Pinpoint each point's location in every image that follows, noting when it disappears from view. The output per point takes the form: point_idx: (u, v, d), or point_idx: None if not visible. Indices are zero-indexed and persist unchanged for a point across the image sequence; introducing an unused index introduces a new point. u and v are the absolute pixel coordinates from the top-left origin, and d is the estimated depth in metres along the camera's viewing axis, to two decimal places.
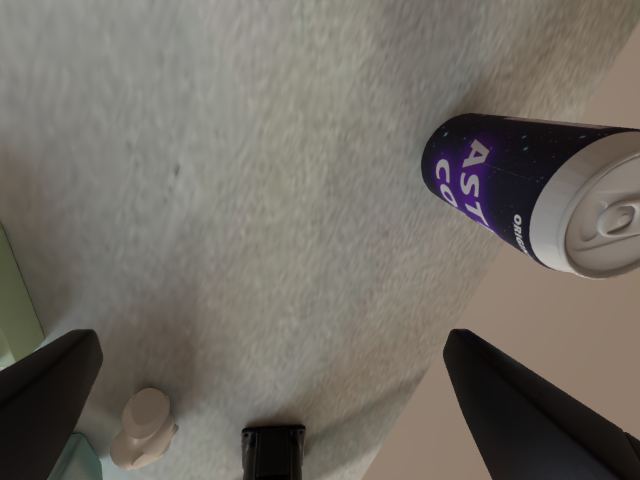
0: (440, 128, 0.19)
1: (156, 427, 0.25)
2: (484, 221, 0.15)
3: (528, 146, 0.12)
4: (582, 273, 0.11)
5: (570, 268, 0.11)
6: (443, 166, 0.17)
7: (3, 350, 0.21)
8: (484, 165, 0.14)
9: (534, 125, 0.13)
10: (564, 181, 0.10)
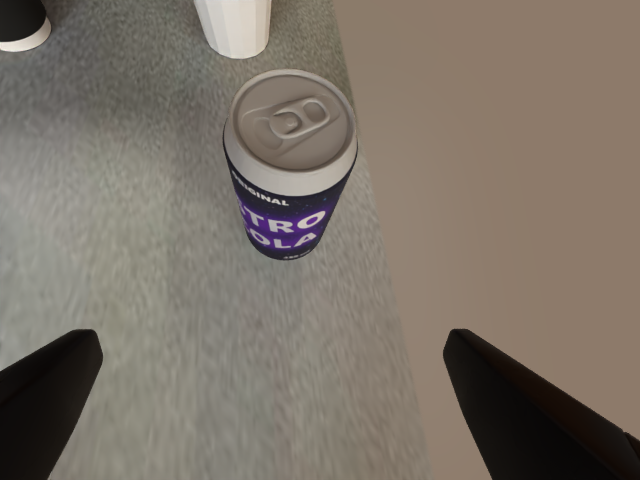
0: None
1: None
2: (259, 217, 0.15)
3: None
4: (295, 172, 0.11)
5: (275, 170, 0.11)
6: None
7: None
8: None
9: None
10: (228, 122, 0.12)
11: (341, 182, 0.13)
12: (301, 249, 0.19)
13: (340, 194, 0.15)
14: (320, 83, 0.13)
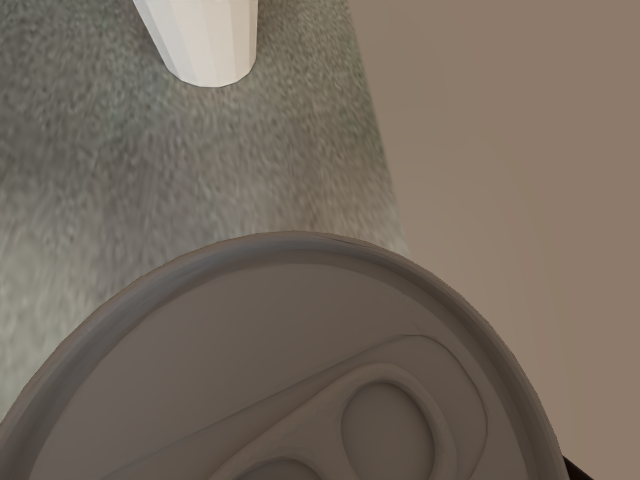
0: None
1: None
2: None
3: None
4: None
5: None
6: None
7: None
8: None
9: None
10: None
11: None
12: None
13: None
14: (396, 274, 0.03)
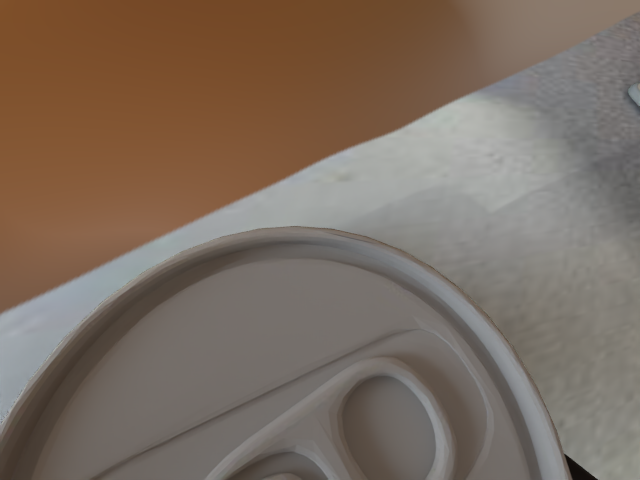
0: None
1: None
2: None
3: None
4: None
5: None
6: None
7: None
8: None
9: None
10: None
11: None
12: None
13: None
14: (397, 269, 0.03)
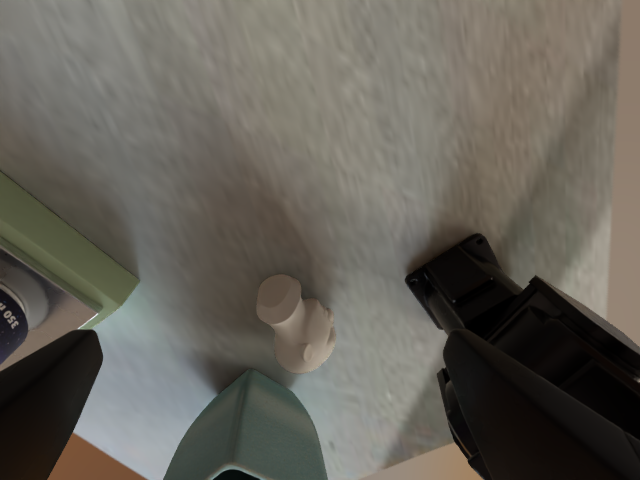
0: None
1: (295, 303, 0.19)
2: None
3: None
4: None
5: None
6: None
7: (94, 294, 0.18)
8: None
9: None
10: None
11: None
12: None
13: None
14: None
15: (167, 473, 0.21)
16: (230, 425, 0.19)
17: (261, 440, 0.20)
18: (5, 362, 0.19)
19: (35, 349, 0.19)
